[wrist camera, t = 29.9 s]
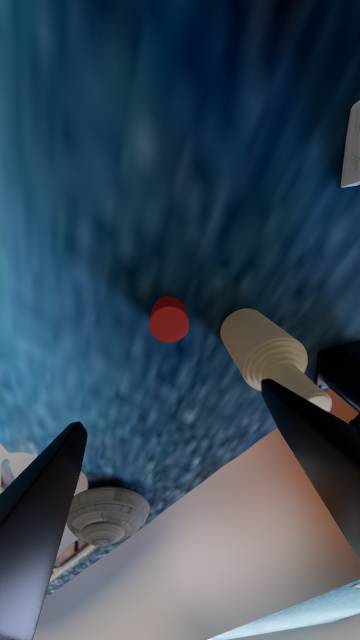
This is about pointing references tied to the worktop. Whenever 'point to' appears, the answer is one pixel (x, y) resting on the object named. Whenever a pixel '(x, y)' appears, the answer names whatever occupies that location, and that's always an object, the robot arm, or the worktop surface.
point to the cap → (169, 319)
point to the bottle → (269, 355)
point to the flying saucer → (106, 514)
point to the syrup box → (352, 150)
